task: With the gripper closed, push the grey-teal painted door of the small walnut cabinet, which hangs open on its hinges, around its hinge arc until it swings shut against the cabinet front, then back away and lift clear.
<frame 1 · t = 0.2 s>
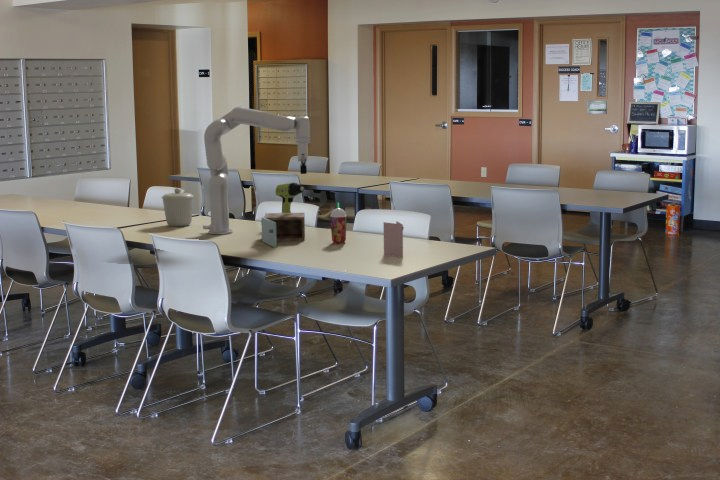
hand: (303, 172, 499), 31 cm above the table, tool pointing down, fingers open, 9 cm apart
canister: (179, 225, 531), on the table
cordless drill: (292, 228, 514), on the table
cabinet door: (267, 232, 463), point 6 cm above the table, hinge at 70.0°
smoothie: (338, 243, 466), on the table
cabinet: (285, 238, 482), on the table
greeting card: (393, 256, 431), on the table
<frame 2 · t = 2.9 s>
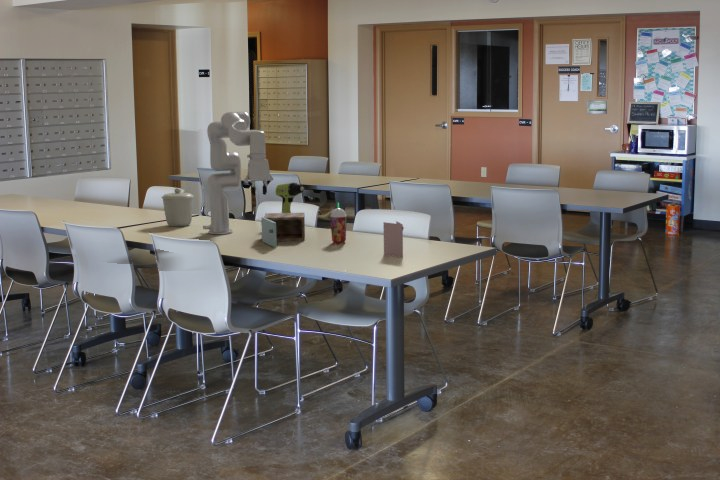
hand: (259, 194, 456), 25 cm above the table, tool pointing down, fingers open, 4 cm apart
nothing on the table moved.
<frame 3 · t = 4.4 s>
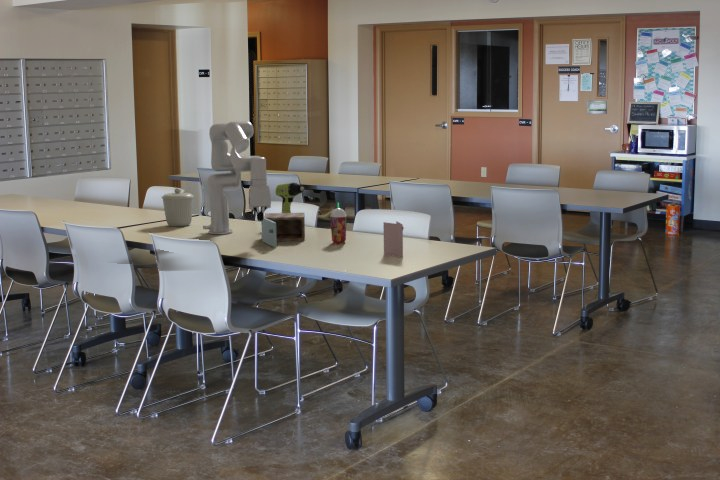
hand: (260, 220, 458), 13 cm above the table, tool pointing down, fingers closed
nothing on the table moved.
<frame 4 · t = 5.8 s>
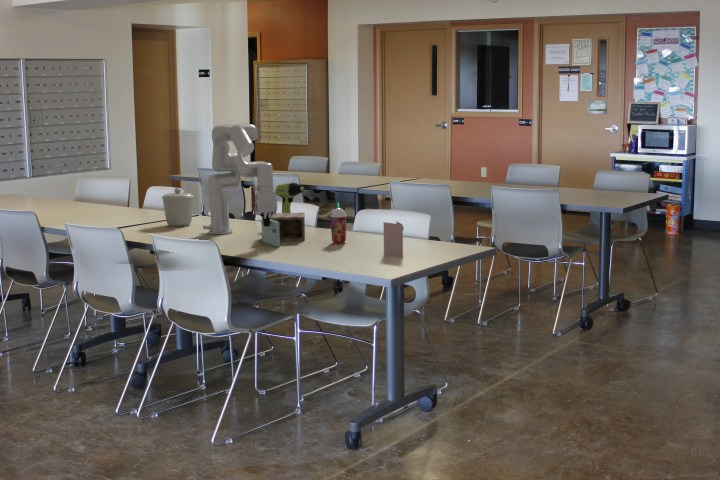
hand: (266, 226, 459), 10 cm above the table, tool pointing down, fingers closed
cabinet door: (268, 232, 463), point 6 cm above the table, hinge at 65.4°, touching gripper
everything else where it was.
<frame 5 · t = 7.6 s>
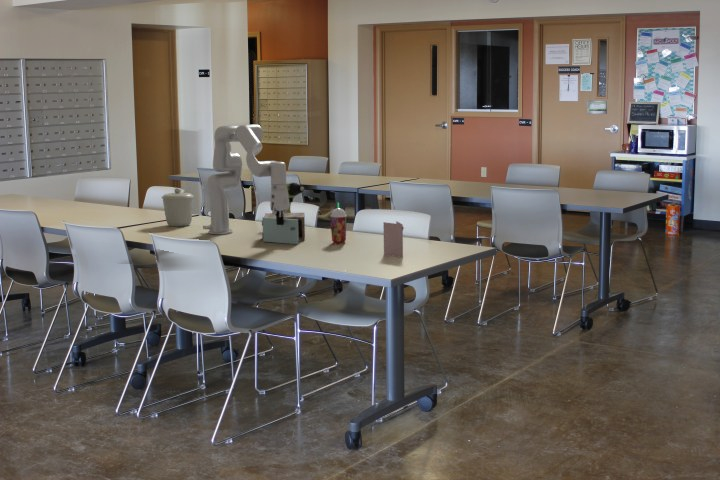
hand: (280, 224, 463), 10 cm above the table, tool pointing down, fingers closed
cabinet door: (279, 230, 466), point 6 cm above the table, hinge at 30.5°, touching gripper
everything else where it was.
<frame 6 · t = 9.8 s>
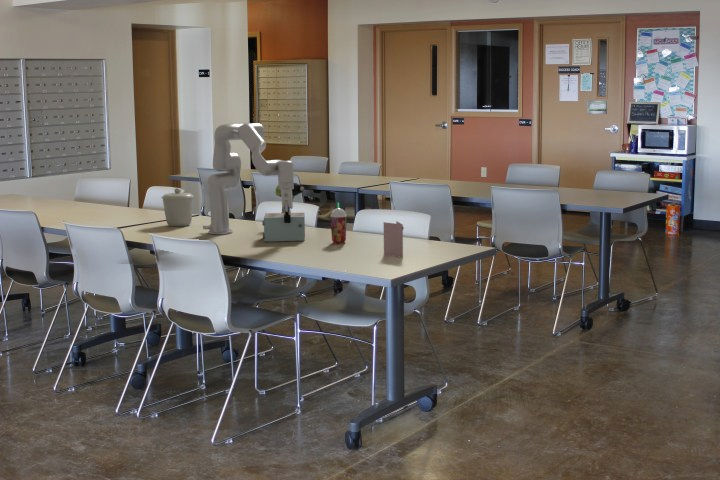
hand: (287, 222, 469), 10 cm above the table, tool pointing down, fingers closed
cabinet door: (283, 229, 471), point 6 cm above the table, hinge at -0.6°, touching gripper
everything else where it was.
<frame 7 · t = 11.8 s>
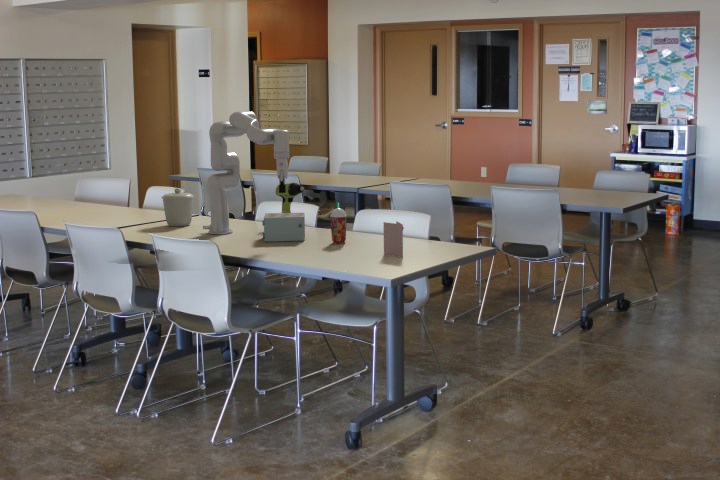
hand: (282, 192, 465), 25 cm above the table, tool pointing down, fingers closed
cabinet door: (283, 229, 471), point 6 cm above the table, hinge at -0.6°
everything else where it was.
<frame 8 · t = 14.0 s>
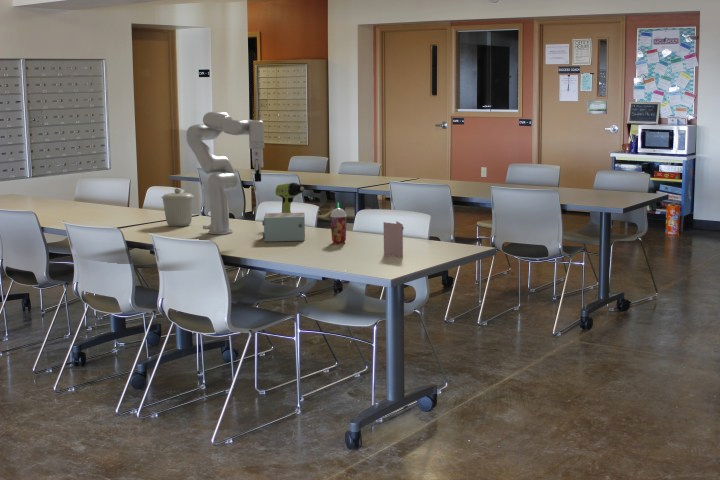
hand: (258, 181, 479), 29 cm above the table, tool pointing down, fingers closed
nothing on the table moved.
at the end: cabinet door at -1° (first picture: +70°) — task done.
